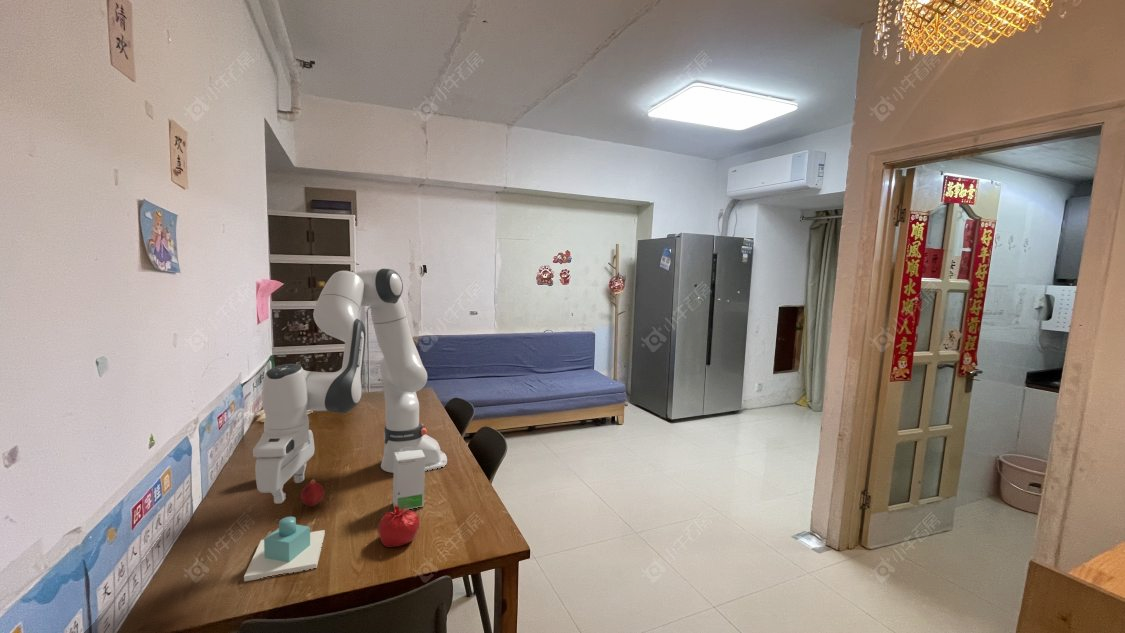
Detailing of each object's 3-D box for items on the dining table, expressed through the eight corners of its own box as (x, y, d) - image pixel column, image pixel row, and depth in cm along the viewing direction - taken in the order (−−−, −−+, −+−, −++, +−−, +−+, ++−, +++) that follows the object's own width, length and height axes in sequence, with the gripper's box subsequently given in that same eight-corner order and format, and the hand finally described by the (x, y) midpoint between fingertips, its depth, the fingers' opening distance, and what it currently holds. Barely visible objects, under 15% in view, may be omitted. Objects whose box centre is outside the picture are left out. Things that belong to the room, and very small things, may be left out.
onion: (308, 514, 124) (307, 486, 124) (297, 507, 127) (296, 480, 126) (328, 505, 129) (327, 478, 128) (317, 499, 132) (316, 473, 131)
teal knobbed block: (264, 557, 103) (263, 526, 103) (286, 541, 110) (286, 511, 109) (289, 562, 102) (288, 530, 101) (310, 545, 109) (309, 515, 108)
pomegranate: (418, 548, 111) (419, 513, 110) (375, 554, 108) (375, 518, 107) (419, 526, 121) (420, 494, 120) (380, 531, 118) (380, 498, 117)
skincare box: (395, 513, 126) (395, 461, 125) (392, 502, 132) (392, 452, 131) (425, 507, 130) (425, 456, 129) (421, 496, 136) (421, 448, 135)
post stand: (324, 534, 115) (324, 517, 115) (316, 568, 102) (316, 549, 102) (261, 544, 110) (260, 526, 110) (244, 581, 97) (243, 561, 97)
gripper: (294, 419, 113) (296, 471, 115) (247, 453, 93) (251, 515, 94) (320, 419, 114) (322, 470, 115) (279, 452, 94) (283, 514, 95)
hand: (290, 491), depth 105 cm, fingers open, 8 cm apart
